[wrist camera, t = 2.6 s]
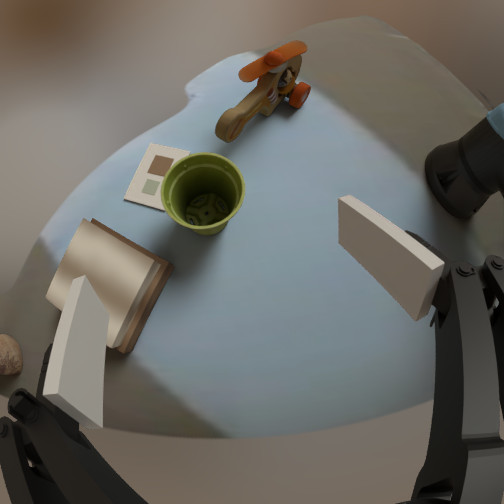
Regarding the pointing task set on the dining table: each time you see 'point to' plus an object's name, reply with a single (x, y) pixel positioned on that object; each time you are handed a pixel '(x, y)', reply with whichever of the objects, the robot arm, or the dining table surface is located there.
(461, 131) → the dining table surface
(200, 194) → the plant pot
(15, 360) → the figurine
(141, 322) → the stacked square slabs
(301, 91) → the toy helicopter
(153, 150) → the page
